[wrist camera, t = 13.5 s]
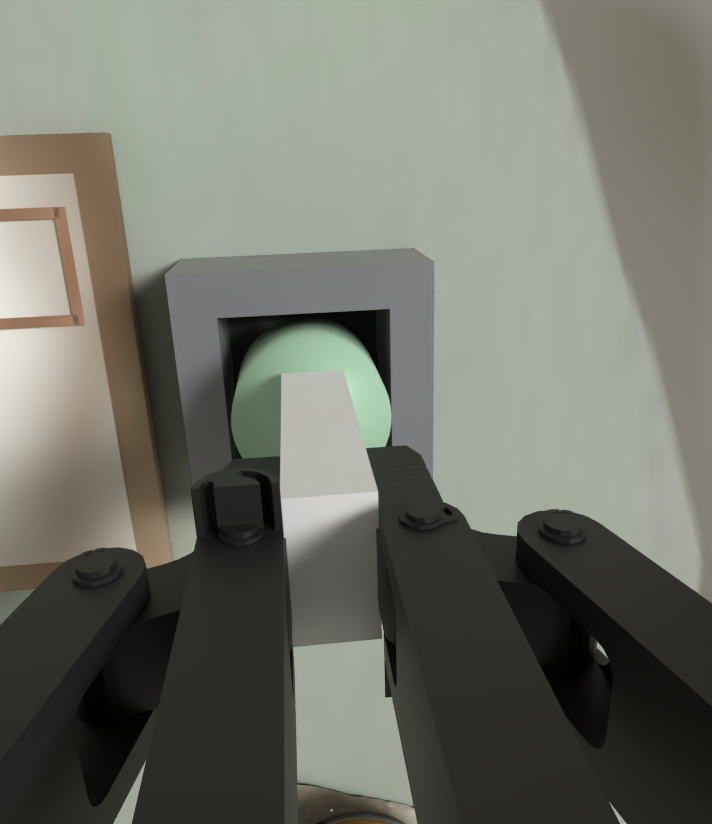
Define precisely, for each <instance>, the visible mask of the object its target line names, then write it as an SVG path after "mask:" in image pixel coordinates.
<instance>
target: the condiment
mask: <svg viewBox="0 0 712 824" xmlns="http://www.w3.org/2000/svg"><path fill="white" fill-rule="evenodd" d="M297 793H298V824H417V820H416V815H415V810H414V808H412V807H409V806H407V805H404V804H400V803H395V802H386V801H384V800H381V799H371V798H367V797H363V796H362V797H355V796H349V795H347V794H344V793H342V792H338V791H331V790H328V789H325V788H321V787H316V786H310V785H297ZM330 809H333V811H332V812H331V811H330Z"/></svg>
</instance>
